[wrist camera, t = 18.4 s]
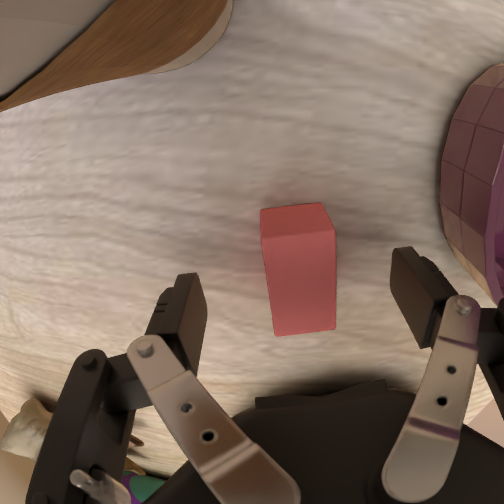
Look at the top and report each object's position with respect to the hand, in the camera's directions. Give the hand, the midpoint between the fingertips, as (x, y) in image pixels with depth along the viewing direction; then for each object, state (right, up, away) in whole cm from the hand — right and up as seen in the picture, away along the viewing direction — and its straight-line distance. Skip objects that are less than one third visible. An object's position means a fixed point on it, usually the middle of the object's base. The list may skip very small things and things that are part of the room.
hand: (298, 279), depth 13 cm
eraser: (0, +1, +3) cm, 3 cm away
